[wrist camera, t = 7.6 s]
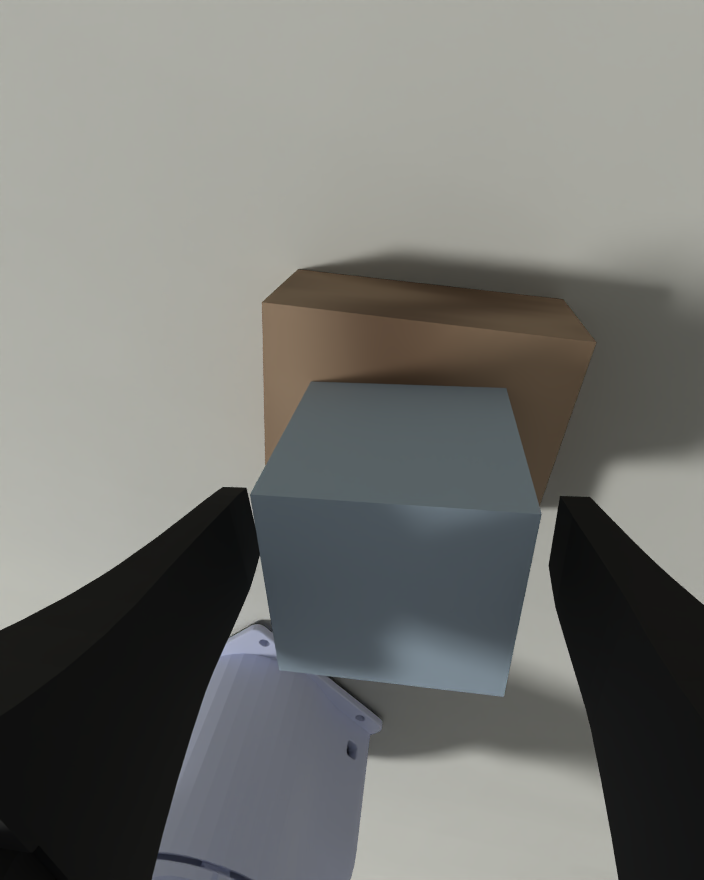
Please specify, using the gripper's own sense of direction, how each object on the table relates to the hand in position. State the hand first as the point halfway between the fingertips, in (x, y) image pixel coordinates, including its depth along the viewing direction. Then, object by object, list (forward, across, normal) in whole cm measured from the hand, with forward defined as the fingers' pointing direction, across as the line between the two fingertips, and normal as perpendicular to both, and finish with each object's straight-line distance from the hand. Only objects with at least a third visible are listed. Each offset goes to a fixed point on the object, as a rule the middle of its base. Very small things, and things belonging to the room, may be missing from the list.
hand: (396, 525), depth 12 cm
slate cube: (+3, 0, 0) cm, 3 cm away
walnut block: (+7, 0, 0) cm, 7 cm away
